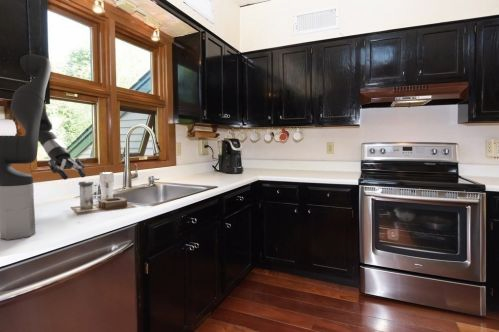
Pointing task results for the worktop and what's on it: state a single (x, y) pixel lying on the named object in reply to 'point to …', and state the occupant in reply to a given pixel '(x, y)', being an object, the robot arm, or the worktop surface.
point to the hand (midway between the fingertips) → (75, 177)
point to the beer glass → (106, 184)
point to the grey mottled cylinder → (86, 195)
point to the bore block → (105, 206)
